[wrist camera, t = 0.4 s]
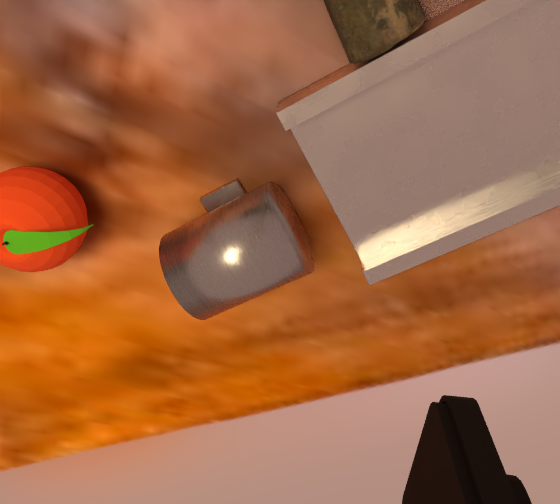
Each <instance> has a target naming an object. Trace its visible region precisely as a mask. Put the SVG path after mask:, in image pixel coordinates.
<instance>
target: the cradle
mask: <svg viewBox="0 0 560 504" xmlns="http://www.w3.org/2000/svg"><path fill="white" fill-rule="evenodd" d="M276 114H277V116H278V117H279V119H280V121H281V123H282V125H283V127H284V129H285V130H286V131H287V130H289V129H291V131H292V133H293V135H294V137H295V138H296V140H297V142H298V144H299V146H300V148H301V150H302V151H303V153H304V155H305V157H306V159H307V161H308V163H309V164H310V166H311V168H312V170H313V172H314V174H315V176H316V177H317V179H318V181H319V183H320V185H321V187H322V189H323V190H324V192H325V194H326V196H327V198H328V200H329V202H330V203H331V205H332V207H333V209H334V211H335V213H336V215H337V216H338V218H339V220H340V222H341V224H342V226H343V228H344V229H345V231H346V233H347V235H348V237H349V239H350V241H351V243H352V244H353V246H354V248H355V250H356V252H357V254H358V256H359V257H360V262H361V267H362V272H363V274H364V276H365V278H366V280H367V281H368V283H369V285H372V284H374V283H377V282H379V281H381V280H384V279H386V278H388V277H391V276H393V275H395V274H398V273H400V272H403V271H405V270H407V269H410V268H412V267H414V266H417V265H419V264H422V263H424V262H426V261H429V260H431V259H433V258H436V257H438V256H440V255H443V254H445V253H448V252H450V251H452V250H455V249H457V248H459V247H462V246H464V245H467V244H469V243H471V242H474V241H476V240H478V239H481V238H483V237H485V236H488V235H490V234H493V233H495V232H497V231H500V230H502V229H504V228H507V227H509V226H512V225H514V224H516V223H519V222H521V221H523V220H526V219H528V218H530V217H533V216H535V215H538V214H540V213H542V212H545V211H547V210H549V209H552V208H554V207H557V206H559V205H560V0H465V1H463V2H461V3H460V4H458V5H456V6H454V7H452V8H450V9H449V10H447V11H445V12H443V13H441V14H439V15H438V16H436V17H434V18H432V19H430V20H428V21H427V22H425V23H423V24H422V25H421V26H420V27H419V28H418V29H417V30H416V31H414V32H413V33H411V34H410V35H409V36H407V37H406V38H405V39H403V40H401V41H399V42H398V43H397V44H395V45H394V46H393V47H391V48H390V49H388V50H387V51H385V52H384V53H382V54H380V55H378V56H376V57H374V58H372V59H370V60H367V61H364V62H360V63H356V64H352V63H349V64H348V65H346V66H344V67H342V68H340V69H338V70H337V71H335V72H333V73H331V74H329V75H327V76H326V77H324V78H322V79H320V80H318V81H316V82H314V83H313V84H311V85H309V86H307V87H305V88H303V89H302V90H300V91H298V92H296V93H294V94H292V95H291V96H289V97H287V98H285V99H283V100H281V101H280V102H278V107H277V112H276Z"/></svg>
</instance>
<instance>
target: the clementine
mask: <svg viewBox="0 0 560 504" xmlns="http://www.w3.org/2000/svg"><path fill="white" fill-rule="evenodd" d="M93 225H94V224H92V225H89V226H88V218H87V209H86V205H85V203H84V200H83V197H82V196H81V194H80V193H79V191H78V190H77V189H76V187H75V186H74V185H73V184H72V183H71V182H69V181H68V180H67V179H66V178H65V177H63V176H61V175H60V174H58V173H56V172H54V171H51V170H48V169H45V168H38V167H27V166H23V167H18V168H12V169H10V170H7V171H4V172H2V173H0V264H2V265H4V266H6V267H9V268H12V269H15V270H19V271H24V272H38V271H44V270H48V269H52V268H54V267H57V266H59V265H61V264H63V263H64V262H66V261H67V260H68V259H69V258H70V257H71V256H73V255H74V254H75V253H76V252H77V251H78V249H79V247H80V246H81V244H82V242H83V240H84V238H85V236H86V232H87V229H89V228H90V227H91V226H93Z"/></svg>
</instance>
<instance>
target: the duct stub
mask: <svg viewBox="0 0 560 504" xmlns="http://www.w3.org/2000/svg"><path fill="white" fill-rule="evenodd" d="M200 201H201V203H202V204H203V206H204V207H205V209H206V210H207V212H208V213H207V214H205V215H203V216H201V217H199V218H197V219H195V220H193V221H191V222H189V223H187V224H185V225H183V226H181V227H179V228H177V229H175V230H173V231H171V232H169V233H167V234H165V235H164V236H163V237H162V238H161V241H160V245H159V257H160V263H161V267H162V271H163V274H164V276H165V279H166V281H167V284H168V286H169V288H170V290H171V292H172V293H173V295H174V297H175V298H176V299H177V301H178V302H179V304H180V305H181V306H182V307H183V308H184V309H185V310H186V311H187V312H188V313H189V314H190V315H192V316H193V317H195V318H197V319H200V320H206V319H208V318H210V317H213V316H215V315H217V314H219V313H222V312H224V311H226V310H228V309H231V308H233V307H235V306H237V305H240V304H242V303H244V302H247V301H249V300H251V299H253V298H256V297H258V296H260V295H262V294H265V293H267V292H269V291H271V290H274V289H276V288H278V287H280V286H283V285H285V284H287V283H289V282H292V281H294V280H296V279H299V278H301V277H303V276H305V275H308V274H310V273H312V272H313V271H314V258H313V254H312V250H311V247H310V244H309V241H308V238H307V235H306V233H305V231H304V228H303V226H302V224H301V222H300V220H299V217H298V216H297V214H296V212H295V210H294V208H293V206H292V205H291V203H290V201H289V200H288V198H287V197H286V195H285V194H284V193H283V191H282V190H281V189H280V188H279V187H278V186H277V185H276V184H275V183H273V182H268V183H266V184H264V185H262V186H260V187H258V188H256V189H254V190H252V191H250V192H248V193H246V192H245V190H244V188H243V187H242V185H241V184H240V182H239V180H238V179H235V180H233V181H231V182H229V183H227V184H225V185H223V186H221V187H219V188H217V189H215V190H213V191H211V192H209V193H208V194H206V195H204V196H202V197H200Z"/></svg>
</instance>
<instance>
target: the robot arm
mask: <svg viewBox="0 0 560 504" xmlns="http://www.w3.org/2000/svg"><path fill="white" fill-rule="evenodd" d="M402 504H532V503H531V501H530V498H529V496H528V494H527V491H526V489H525V487H524V485H523V484H522V482H521V480H519V479H518V478H517V477H516V476H513V475H506V473H505V470H504V467H503V465H502V463H501V460H500V458H499V455H498V452H497V450H496V448H495V445H494V443H493V440H492V437H491V435H490V432H489V430H488V427H487V425H486V422H485V420H484V417H483V415H482V412H481V410H480V407H479V405H478V403H477V401H476V400H475V399H474V398H467V397H457V396H446V395H444V396H442V398H441V399H440V401H439V403H437V402H432V403H431V404H430V407H429V410H428V414H427V417H426V420H425V424H424V427H423V430H422V434H421V437H420V441H419V444H418V447H417V451H416V454H415V457H414V461H413V464H412V467H411V471H410V475H409V478H408V481H407V484H406V488H405V491H404V495H403V500H402Z"/></svg>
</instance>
